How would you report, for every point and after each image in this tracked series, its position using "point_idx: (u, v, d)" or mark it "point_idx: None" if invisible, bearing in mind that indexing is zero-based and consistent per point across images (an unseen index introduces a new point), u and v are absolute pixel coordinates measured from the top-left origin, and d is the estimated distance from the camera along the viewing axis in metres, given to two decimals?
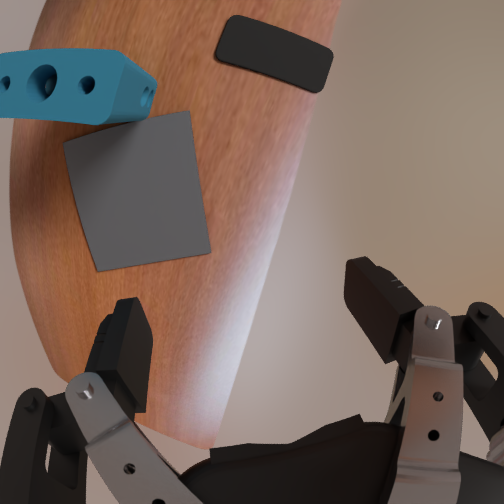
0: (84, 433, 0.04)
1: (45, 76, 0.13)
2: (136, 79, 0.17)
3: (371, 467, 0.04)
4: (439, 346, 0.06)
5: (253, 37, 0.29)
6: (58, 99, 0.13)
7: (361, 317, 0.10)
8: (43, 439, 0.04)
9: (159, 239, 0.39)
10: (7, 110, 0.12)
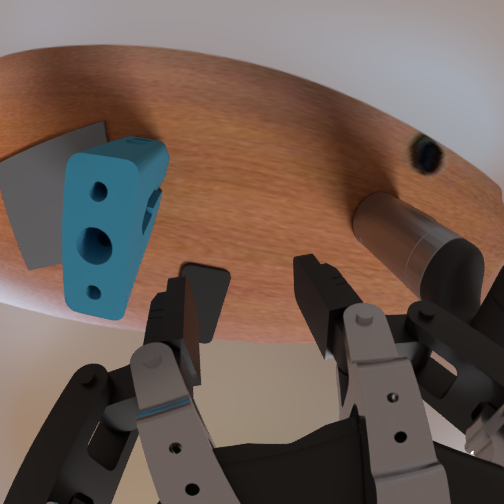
0: (139, 402, 0.05)
1: None
2: None
3: (345, 482, 0.04)
4: (377, 343, 0.06)
5: (208, 291, 0.43)
6: (79, 267, 0.17)
7: (306, 313, 0.10)
8: (93, 419, 0.05)
9: (27, 227, 0.33)
10: (70, 202, 0.15)
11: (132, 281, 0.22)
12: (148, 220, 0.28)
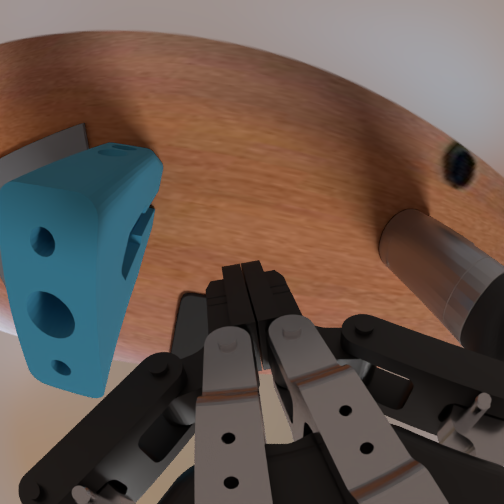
0: (204, 383, 0.06)
1: None
2: None
3: (323, 503, 0.03)
4: (312, 355, 0.06)
5: None
6: (37, 338, 0.11)
7: None
8: (154, 412, 0.05)
9: None
10: (9, 254, 0.09)
11: (113, 344, 0.15)
12: (134, 253, 0.21)
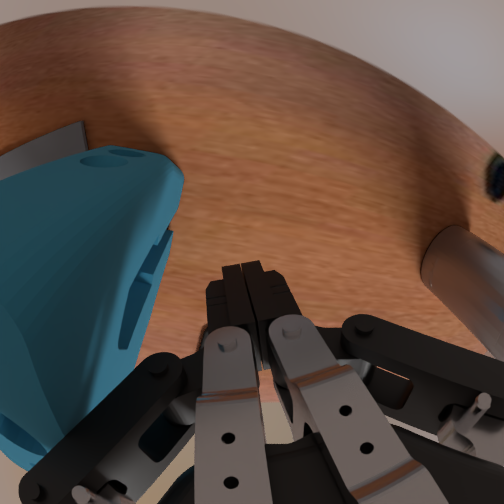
0: (204, 383, 0.06)
1: None
2: None
3: (323, 503, 0.03)
4: (312, 355, 0.06)
5: None
6: (5, 441, 0.05)
7: None
8: (154, 412, 0.05)
9: None
10: None
11: None
12: (143, 300, 0.15)
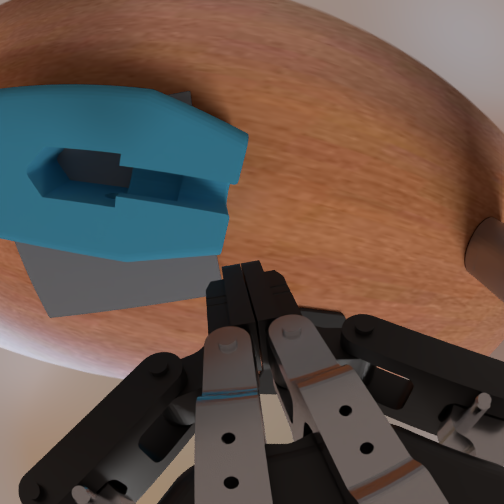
0: (204, 383, 0.06)
1: None
2: None
3: (323, 503, 0.03)
4: (312, 355, 0.06)
5: None
6: None
7: None
8: (154, 413, 0.05)
9: (45, 257, 0.22)
10: None
11: (8, 224, 0.15)
12: (91, 203, 0.16)
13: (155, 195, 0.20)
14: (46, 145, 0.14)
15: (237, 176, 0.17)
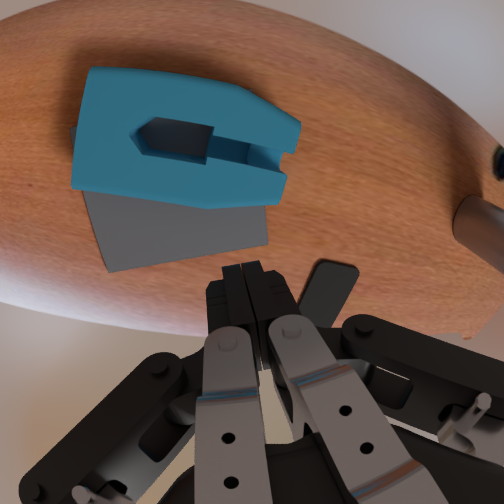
0: (204, 383, 0.06)
1: None
2: None
3: (323, 503, 0.03)
4: (312, 355, 0.06)
5: (336, 289, 0.40)
6: None
7: None
8: (154, 413, 0.05)
9: (116, 215, 0.29)
10: None
11: (101, 177, 0.23)
12: (185, 161, 0.24)
13: None
14: (151, 115, 0.21)
15: (294, 148, 0.25)
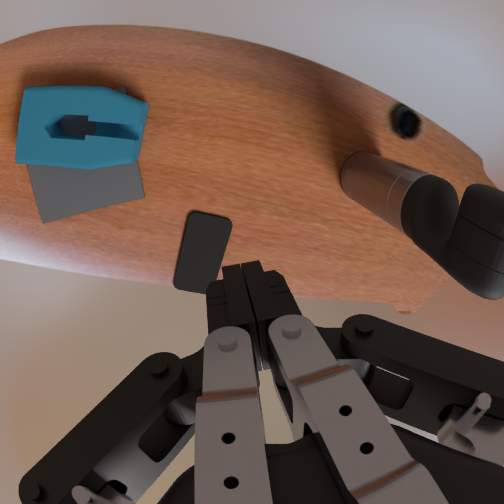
0: (204, 383, 0.06)
1: None
2: None
3: (323, 503, 0.03)
4: (313, 355, 0.06)
5: (211, 238, 0.47)
6: None
7: None
8: (154, 412, 0.05)
9: (46, 181, 0.37)
10: None
11: (30, 154, 0.30)
12: (74, 139, 0.31)
13: None
14: (55, 113, 0.29)
15: (138, 121, 0.32)
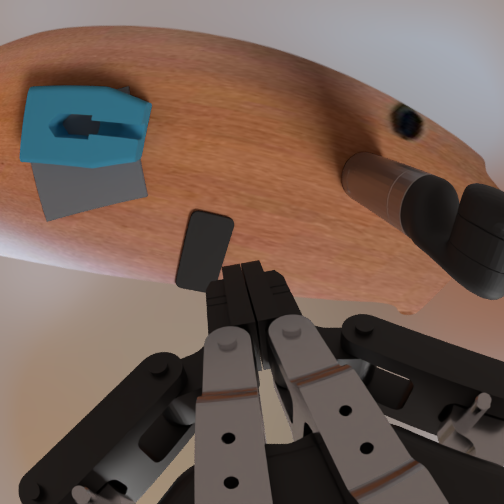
0: (204, 383, 0.06)
1: None
2: (42, 162, 0.33)
3: (323, 503, 0.03)
4: (313, 355, 0.06)
5: (213, 237, 0.48)
6: None
7: None
8: (154, 413, 0.05)
9: (50, 179, 0.38)
10: None
11: (35, 152, 0.31)
12: (77, 138, 0.32)
13: None
14: (59, 112, 0.30)
15: (141, 121, 0.33)
